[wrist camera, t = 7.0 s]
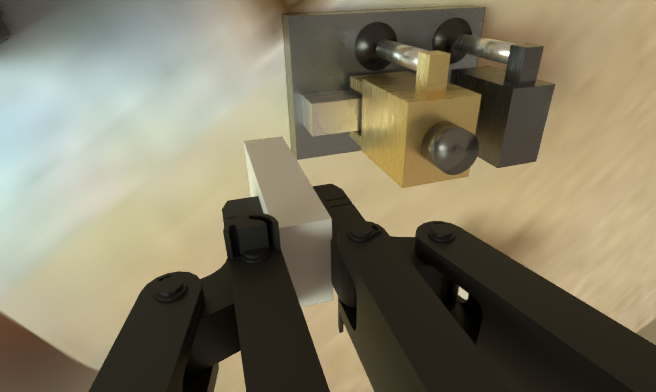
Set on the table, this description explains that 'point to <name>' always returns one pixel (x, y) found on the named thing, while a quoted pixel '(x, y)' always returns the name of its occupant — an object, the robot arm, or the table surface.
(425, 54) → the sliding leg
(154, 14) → the table surface
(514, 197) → the table surface
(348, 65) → the bolt plate
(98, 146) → the table surface
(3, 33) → the card reader
